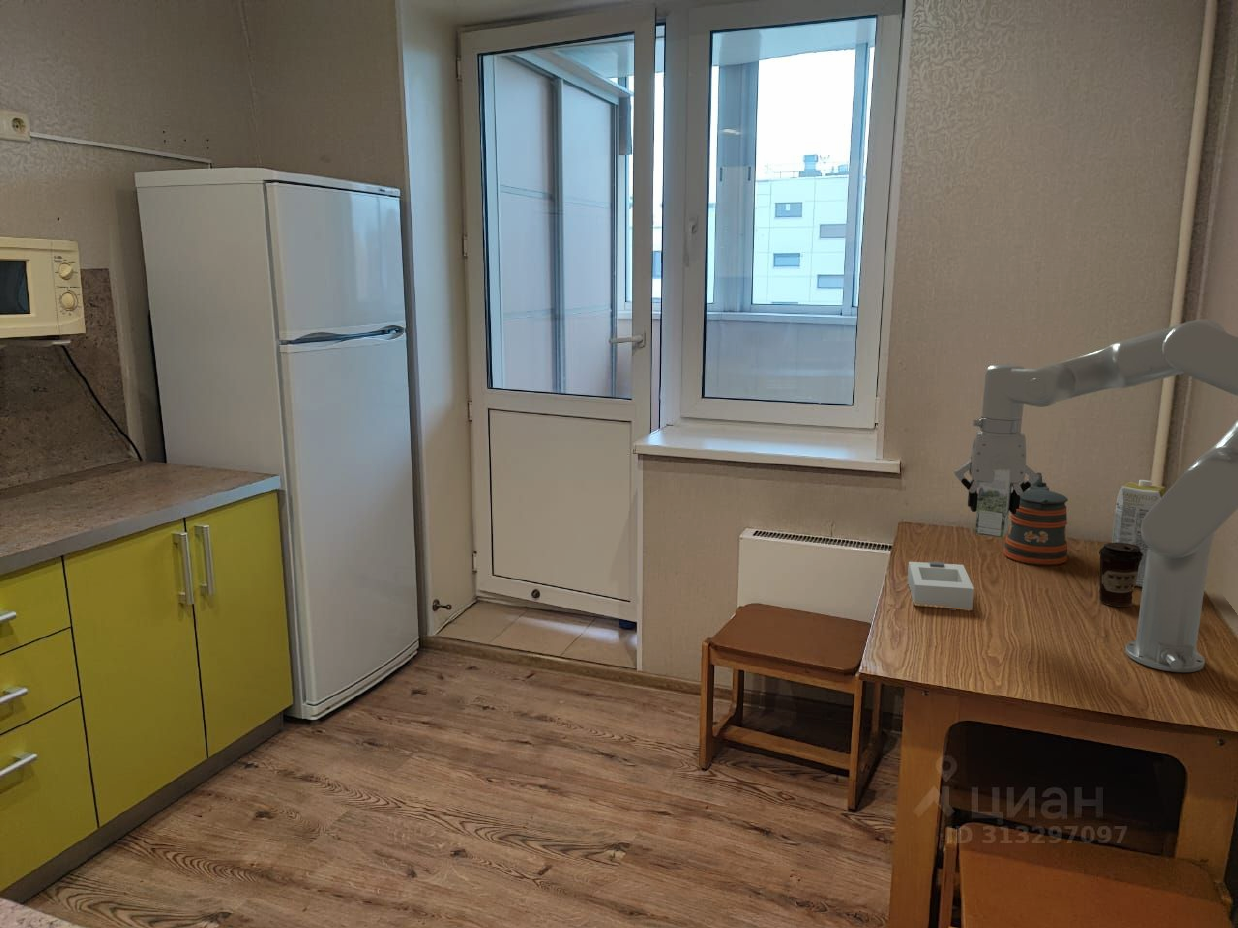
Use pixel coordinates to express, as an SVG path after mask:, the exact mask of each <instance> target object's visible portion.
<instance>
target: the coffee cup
mask: <svg viewBox="0 0 1238 928" xmlns="http://www.w3.org/2000/svg"><path fill="white" fill-rule="evenodd" d="M1140 550H1141V549H1140V548H1139V547H1138V546H1136V545H1132V544H1128V543H1118V542H1116V543H1112V542H1108V543H1106V544H1103V547H1101V548H1100V549H1099V552H1098V554H1099V576H1098V578H1099V580H1098V581H1099V582H1098V583H1099V584H1098V586H1099V587H1098V588H1099V589H1098V593H1099V596H1098V597H1099V599H1098V600H1099V602H1100V603H1101V604H1104V605H1107V606H1112V607H1118V608H1126V607H1132V605H1133V592H1134V589H1135V586H1136V585H1135V584H1136V581H1137V576H1138V568H1139V564H1140V561H1141V560H1142V556H1143V553H1142V552H1141V551H1140Z"/></svg>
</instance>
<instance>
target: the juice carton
mask: <svg viewBox="0 0 1238 928" xmlns="http://www.w3.org/2000/svg"><path fill="white" fill-rule="evenodd" d="M1152 483H1153V481H1152V480H1146V479H1139V481H1138V483H1136V482H1130V481H1127V482H1126V483H1125V484H1124V485H1121V487H1120V489H1119V491H1118V494H1117V499H1116V502H1115V503H1116V505H1115V513H1114V520H1113V529H1112V539H1111V543H1116V542H1118V543H1128V544H1132V545H1136V546H1138V547H1139V548H1140V549H1141V550H1140V551H1141V552H1142V553H1143V556H1142V560H1141V561H1140V564H1139V568H1138V576H1137V581H1136V584H1135V586H1136V587H1143V579H1144V571H1145V564H1146V557H1147V551H1148V547H1147V546H1146V544H1145V543H1144V541H1143V539H1142V535H1141V524H1142V521H1143V518H1144V517H1145V515H1146V514H1147V513H1148V511H1149V510H1150V509H1151V508H1152V507H1153V506H1154V505H1155V504H1156V503H1157V502H1158V501H1159V500H1160V499H1161V497H1162V496H1163V495H1164V494H1165V493H1166V492H1167V489H1166V487H1165V486H1157V485H1156V486H1155V485H1152Z"/></svg>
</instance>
